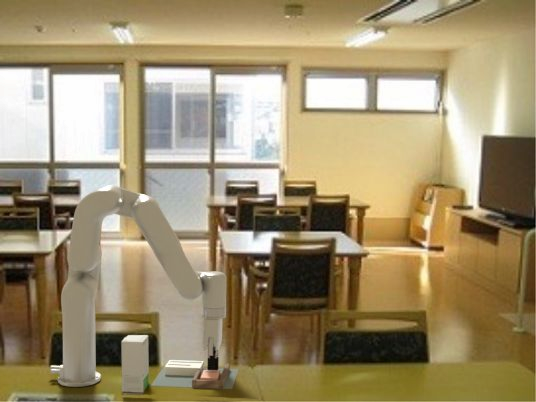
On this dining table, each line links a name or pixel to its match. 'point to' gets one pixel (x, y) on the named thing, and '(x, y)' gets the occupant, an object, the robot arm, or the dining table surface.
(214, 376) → the pink block
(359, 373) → the dining table surface
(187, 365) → the flat white box
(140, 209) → the robot arm
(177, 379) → the mat
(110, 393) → the dining table surface
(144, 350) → the skincare box
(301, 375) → the dining table surface
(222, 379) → the tray
